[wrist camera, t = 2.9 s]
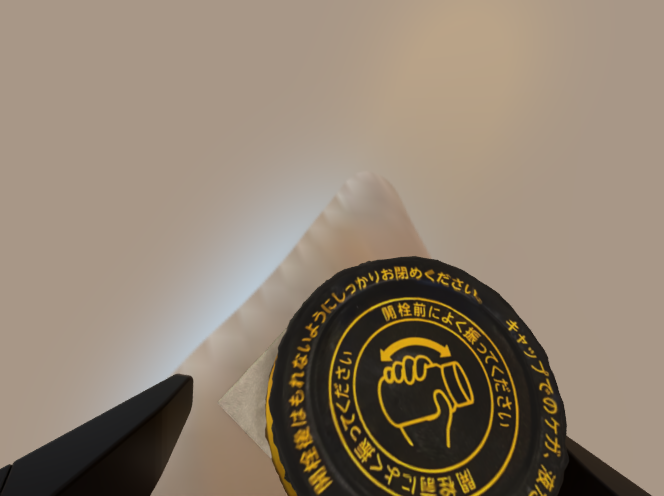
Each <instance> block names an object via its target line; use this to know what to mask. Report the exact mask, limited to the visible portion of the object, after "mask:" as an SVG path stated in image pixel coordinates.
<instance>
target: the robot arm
mask: <svg viewBox="0 0 664 496" xmlns="http://www.w3.org/2000/svg"><path fill="white" fill-rule="evenodd" d="M192 402H193V378H192V377H191V376H189V375H182V374H175V375H173V376H171V377H169V378H167V379H166V380H164V381H162V382H160V383H158V384H156V385H155V386H153V387H151V388H149V389H147V390H145V391H143V392H142V393H140V394H138V395H136V396H134V397H132V398H131V399H129V400H127V401H125V402H123V403H122V404H119V405H118V406H116V407H114V408H112V409H110V410H108V411H107V412H105V413H103V414H101V415H99V416H97V417H95V418H94V419H92V420H90V421H88V422H86V423H84V424H83V425H81V426H79V427H77V428H75V429H74V430H72V431H70V432H68V433H66V434H64V435H62V436H61V437H59V438H57V439H55V440H53V441H51V442H49V443H48V444H46V445H44V446H42V447H40V448H39V449H36V450H35V451H33V452H31V453H29V454H27V455H25V456H24V457H22V458H20V459H18V460H16V461H15V462H14V463H13V465H10V464H9V465H7V466H5V467H3V468H1V469H0V496H150V495H151V493H152V491H153V490H154V488H155V486H156V484H157V482H158V481H159V479H160V477H161V475H162V473H163V471H164V469H165V467H166V465H167V462H168V460H169V458H170V456H171V454H172V451H173V449H174V447H175V445H176V442H177V440H178V438H179V436H180V434H181V431H182V429H183V427H184V425H185V423H186V420H187V418H188V416H189V414H190V411H191V408H192ZM565 444H566V449H567V453H568V456H569V463H568V466H567V467H566V469H565V471H564V480H563V483H562V485H561V488H560V491H559V493H558V495H557V496H651V495H650V494H649V493H647V492H646V491H644V490H643V489H641V488H640V487H639V486H637V485H636V484H634V483H633V482H631V481H630V480H629V479H627V478H626V477H624V476H623V475H621V474H620V473H619V472H617V471H616V470H614V469H613V468H612V467H610V466H609V465H607V464H606V463H604V462H603V461H601V460H600V459H599V458H597V457H596V456H595V455H593V454H592V453H590V452H589V451H587V450H586V449H585V448H583V447H582V446H580V445H579V444H577V443H576V442H575V441H573V440H572V439H570V438H569V437H567V436H566V440H565Z"/></svg>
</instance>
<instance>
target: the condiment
mask: <svg viewBox="0 0 664 496" xmlns="http://www.w3.org/2000/svg"><path fill="white" fill-rule="evenodd" d="M218 404H219V405H220V406H221V407H222V408H223V409H224V410H225V411H226V412H227V413H228V414H229V416H230V417H231V418H232V419H233V420H234V421H235V422H236V423H237V424H238V425H239V426H240V427H241V428H242V429H243V430H244V431H245V432H246V433H247V434H248V435H249V436H250V437H251V438H252V439H253V440H254V441H255V442H256V443H257V444H258V446H259V447H260V448H261V449H262V450H263V451H264V452H265V453H266V454H267V455H268V456H269V457H270V458H271V459H272V462H273V464H274V466H275V469H276V472H277V473H278V475H279V478H280V481H281V483H282V485H283V487H284V489H285V492H286V493H287V495H288V496H557V495H558V493H559V491H560V488H561V485H562V483H563V480H564V471H565V469H566V467H567V466H568V463H569V456H568V453H567V449H566V444H565V440H566V427H567V424H566V416H565V410H564V404H563V401H562V398H561V396H560V393H559V390H558V386H557V383H556V380H555V377H554V374H553V372H552V371H551V369H550V366H549V362H548V357H547V354H546V353H545V350H544V349H543V347H542V346H541V345H540V344H539V342H538V341H537V339H536V338H535V336H534V335H533V333H532V332H531V330H530V329H529V328H528V326H527V325H526V324H525V323H524V322H523V320H522V319H521V318H520V317H519V316H518V315H517V313H516V312H515V311H514V309H513V308H512V307H511V306H510V305H509V303H507V302H506V301H505V300H504V299H503V298H502V297H501V296H500V294H499V293H497V292H496V291H495V290H493V289H492V288H490V287H489V286H487V285H485V284H483V283H482V282H480V281H479V280H477V279H476V278H475V277H473V276H471V275H469V274H468V273H467V272H465V271H463V270H461V269H459V268H457V267H454V266H451V265H448V264H446V263H443V262H441V261H439V260H434V259H427V258H421V257H416V256H412V257H399V258H392V259H385V260H376V261H372V262H371V261H368V262H366V263H361V264H360V265H359V266H355V267H351V268H347V269H344V270H342V271H340V272H338V273H336V274H335V275H334V276H333V277H332V278H331V279H329V280H326V282H325V283H323V284H322V285H321V286H320V287H318V288H317V289H316V290H315V291H314V292H313V293H312V294H311V296H310V297H309V298H308V299H307V300H306V301H305V302H304V303H303V304H302V306H301V308H300V309H299V310H298V311H297V312H296V313H295V315H294V316H293V318H292V319H291V320H290V322H289V325H288V327H287V328H286V329H285V330H284V331H283V332H282V334H281V335H280V336H279V337H278V338H277V339H276V340H275V341H274V342H273V343H272V344H271V345H270V346H269V347H268V349H267V350H266V351H265V353H264V354H263V355H261V356H260V357H259V358H258V359H257V360H256V361H255V363H254V364H253V365H252V366H251V367H250V368H249V369H248V370H247V371H246V372H245V374H244V375H243V376H242V377H241V378H240V379H239V380H238V381H237V382H236V383H235V384H234V385H233V386H232V387H231V388H230V390H229V391H228V392H227V393H226V394H225V395H224V396H223V397H222V398H221V399H220V400H219V402H218Z"/></svg>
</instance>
